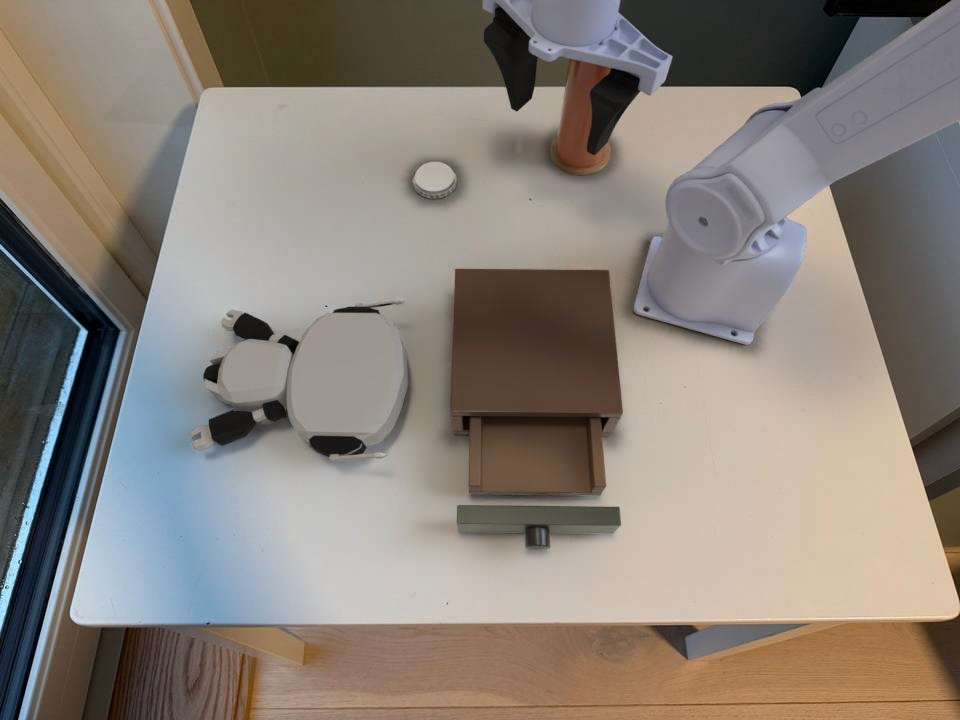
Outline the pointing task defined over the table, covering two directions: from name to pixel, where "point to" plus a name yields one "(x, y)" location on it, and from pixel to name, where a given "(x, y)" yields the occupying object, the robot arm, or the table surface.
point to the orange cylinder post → (579, 114)
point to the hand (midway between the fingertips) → (558, 124)
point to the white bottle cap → (434, 179)
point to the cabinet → (534, 346)
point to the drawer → (536, 476)
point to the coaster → (573, 169)
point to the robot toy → (311, 381)
